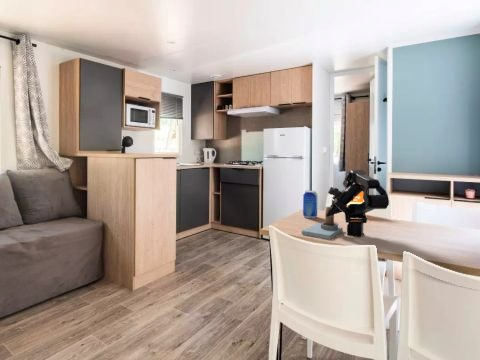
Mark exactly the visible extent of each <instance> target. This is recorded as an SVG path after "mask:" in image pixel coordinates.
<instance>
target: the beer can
mask: <svg viewBox="0 0 480 360" xmlns="http://www.w3.org/2000/svg"><path fill="white" fill-rule="evenodd" d="M302 216H303V217H304V218H305V219H310V218H312V219H316V218H317V217H318V193H317V191H316V190H305V191H304V193H303V195H302Z"/></svg>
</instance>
